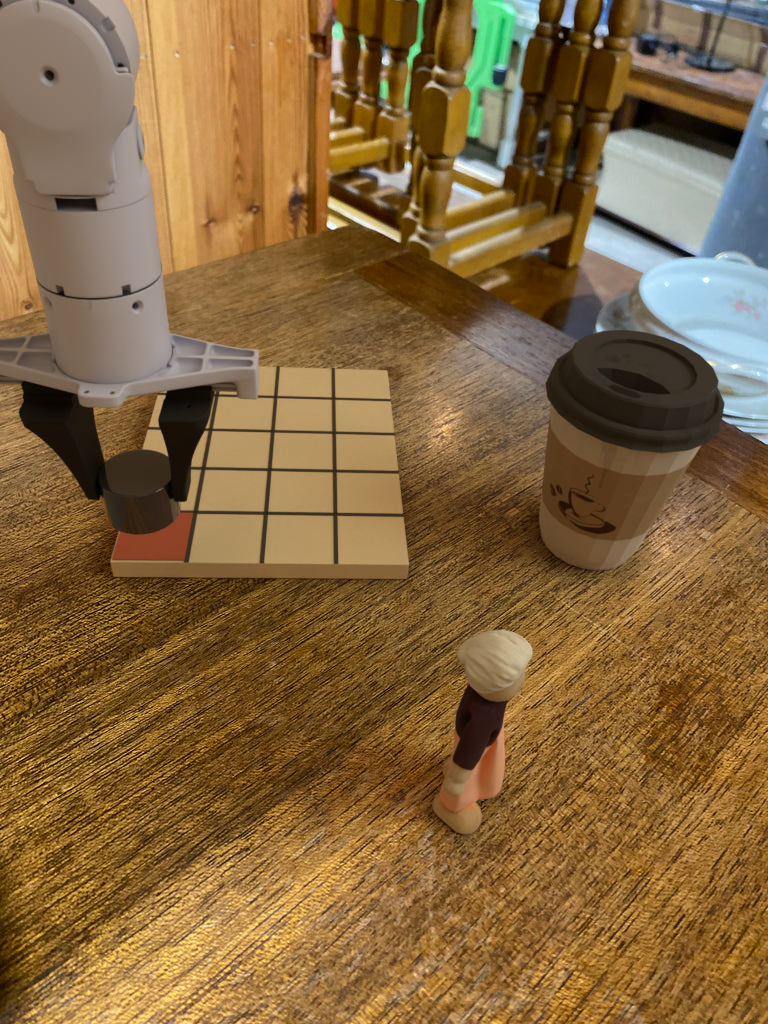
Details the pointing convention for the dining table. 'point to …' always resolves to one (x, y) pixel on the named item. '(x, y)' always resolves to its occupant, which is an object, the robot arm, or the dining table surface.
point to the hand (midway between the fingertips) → (139, 489)
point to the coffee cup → (620, 441)
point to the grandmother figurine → (481, 726)
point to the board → (285, 485)
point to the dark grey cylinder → (138, 492)
